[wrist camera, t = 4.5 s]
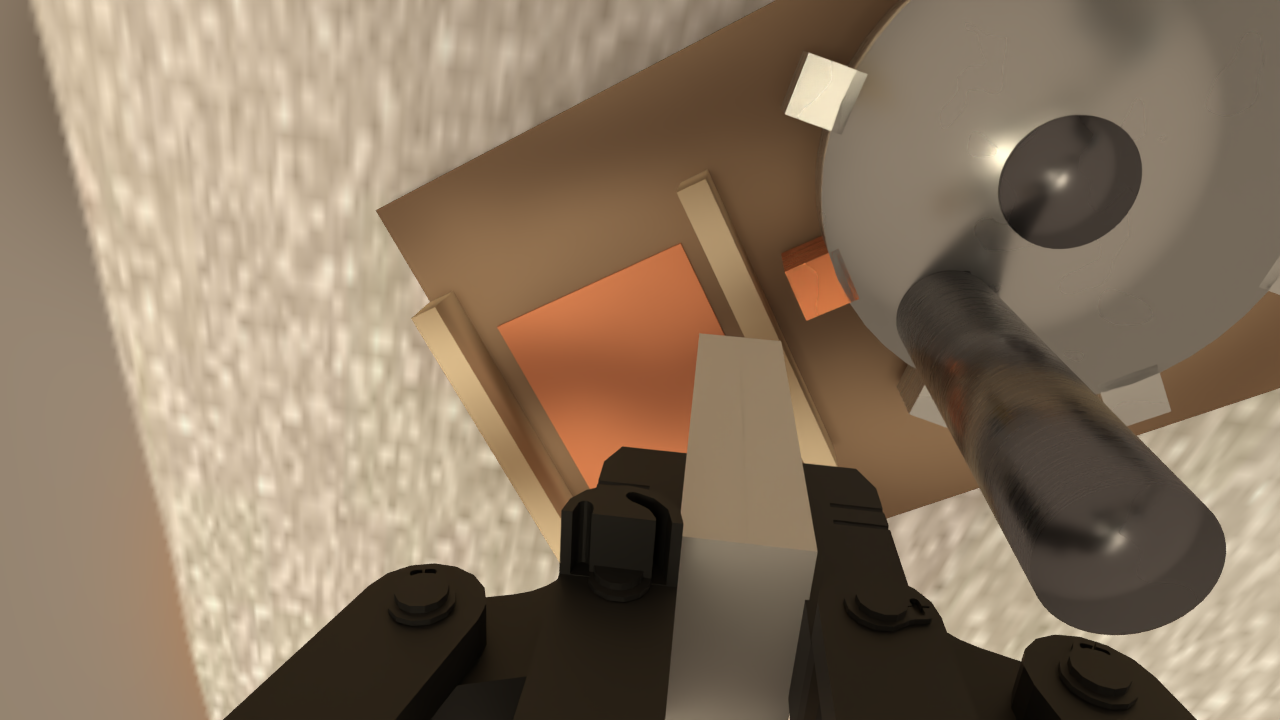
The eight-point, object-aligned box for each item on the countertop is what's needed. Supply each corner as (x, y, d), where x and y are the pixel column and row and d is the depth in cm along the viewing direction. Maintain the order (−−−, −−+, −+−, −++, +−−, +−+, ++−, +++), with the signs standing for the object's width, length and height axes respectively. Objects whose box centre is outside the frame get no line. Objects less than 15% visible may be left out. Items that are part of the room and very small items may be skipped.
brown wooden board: (389, 203, 24) (352, 221, 22) (1180, -212, 18) (1245, -248, 16) (617, 590, 28) (606, 639, 26) (1312, 355, 22) (1377, 392, 20)
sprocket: (687, 41, 20) (626, 51, 9) (1274, -268, 16) (2329, -860, 6) (877, 473, 24) (996, 847, 13) (1385, 296, 20) (2134, 602, 9)
